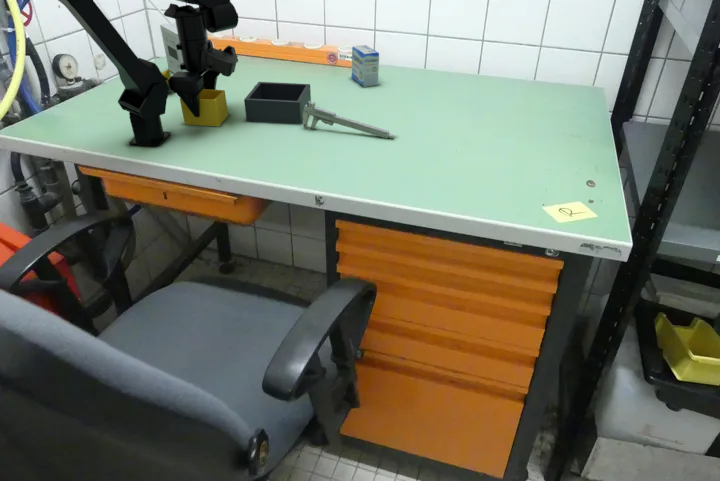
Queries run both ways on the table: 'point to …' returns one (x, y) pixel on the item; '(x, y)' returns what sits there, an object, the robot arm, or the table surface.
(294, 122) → the big bin
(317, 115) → the caliper
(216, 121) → the small bin
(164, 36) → the grey machine part
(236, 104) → the table surface
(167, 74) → the yellow ridged cone
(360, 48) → the medicine box
